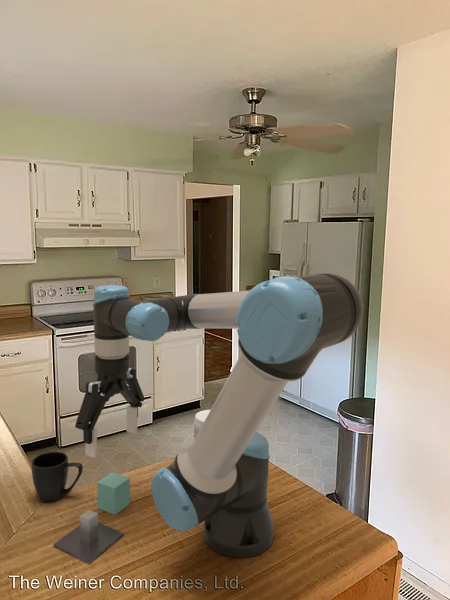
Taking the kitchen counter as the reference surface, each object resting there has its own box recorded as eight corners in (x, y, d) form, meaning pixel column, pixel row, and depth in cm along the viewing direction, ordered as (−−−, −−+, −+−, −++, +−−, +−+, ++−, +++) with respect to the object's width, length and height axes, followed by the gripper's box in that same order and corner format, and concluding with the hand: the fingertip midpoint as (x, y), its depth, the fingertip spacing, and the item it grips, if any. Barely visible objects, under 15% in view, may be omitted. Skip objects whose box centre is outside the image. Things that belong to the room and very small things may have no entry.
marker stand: (123, 535, 101) (123, 509, 100) (89, 564, 92) (88, 536, 91) (89, 520, 105) (88, 495, 104) (53, 546, 97) (52, 519, 96)
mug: (74, 509, 109) (73, 471, 108) (26, 504, 111) (24, 466, 109) (89, 489, 117) (88, 454, 116) (43, 485, 119) (42, 450, 117)
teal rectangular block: (129, 503, 112) (129, 478, 111) (114, 515, 107) (114, 488, 106) (113, 497, 114) (112, 472, 113) (97, 508, 110) (97, 482, 109)
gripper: (134, 340, 118) (134, 420, 121) (55, 365, 96) (58, 462, 99) (159, 345, 114) (158, 427, 117) (82, 372, 92) (84, 472, 96)
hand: (112, 443), depth 108 cm, fingers open, 13 cm apart
